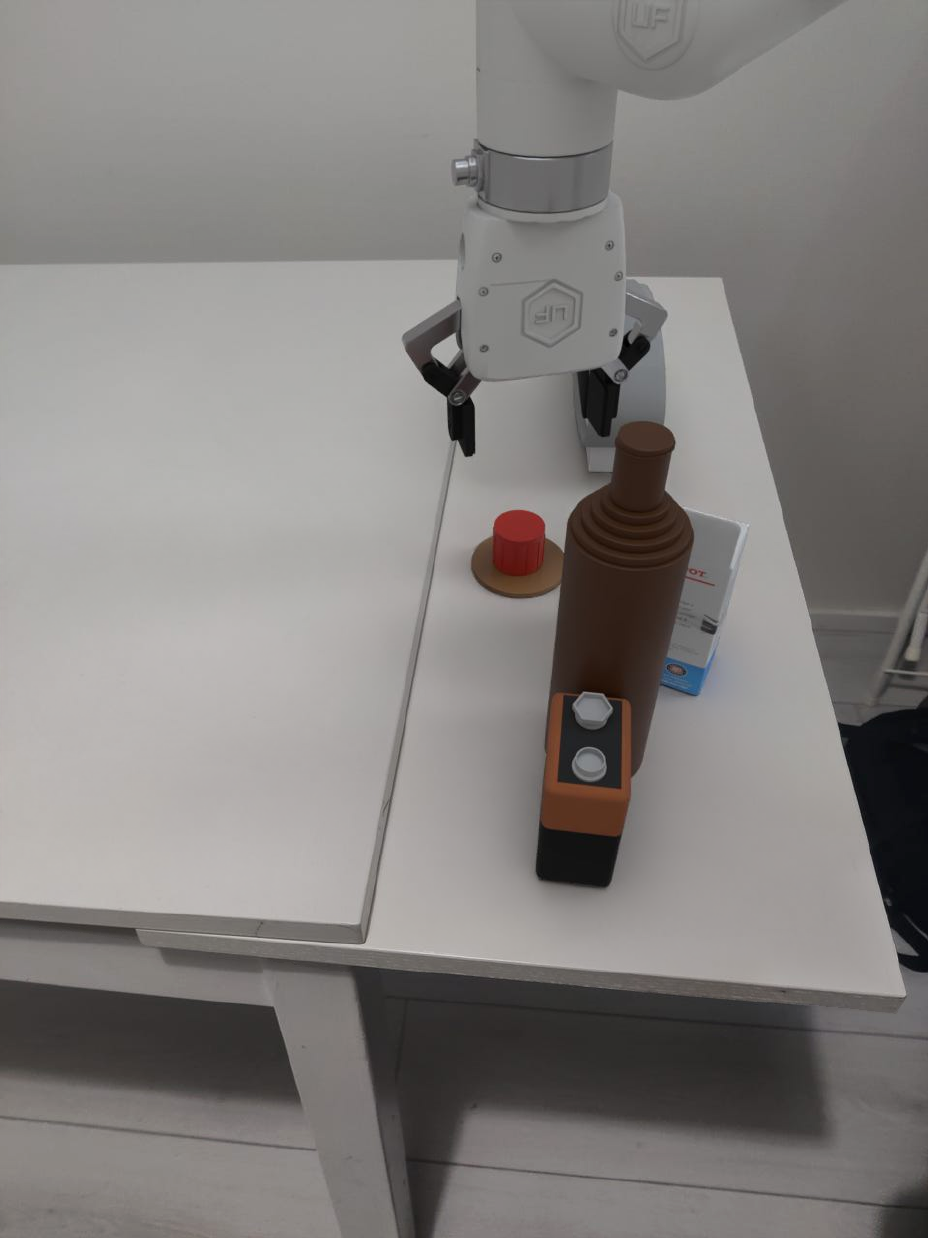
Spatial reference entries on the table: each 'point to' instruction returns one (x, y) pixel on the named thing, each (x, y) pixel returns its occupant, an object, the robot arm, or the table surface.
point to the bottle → (623, 582)
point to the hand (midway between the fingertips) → (532, 436)
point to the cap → (518, 542)
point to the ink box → (703, 599)
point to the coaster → (518, 585)
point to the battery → (584, 788)
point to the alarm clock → (624, 396)
